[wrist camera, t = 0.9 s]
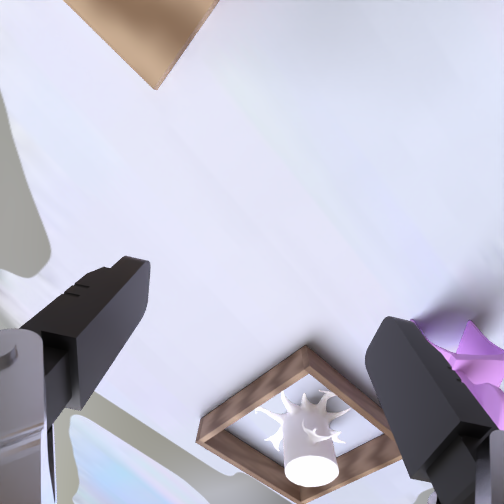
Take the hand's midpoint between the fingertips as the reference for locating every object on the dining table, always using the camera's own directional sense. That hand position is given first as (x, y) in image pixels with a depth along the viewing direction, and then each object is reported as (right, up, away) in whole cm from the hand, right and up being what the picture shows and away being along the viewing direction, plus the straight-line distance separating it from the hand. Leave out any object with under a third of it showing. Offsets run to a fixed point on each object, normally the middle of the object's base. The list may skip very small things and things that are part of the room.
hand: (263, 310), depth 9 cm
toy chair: (+26, -10, +31) cm, 42 cm away
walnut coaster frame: (+8, -28, +39) cm, 49 cm away
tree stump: (+9, -28, +40) cm, 49 cm away
